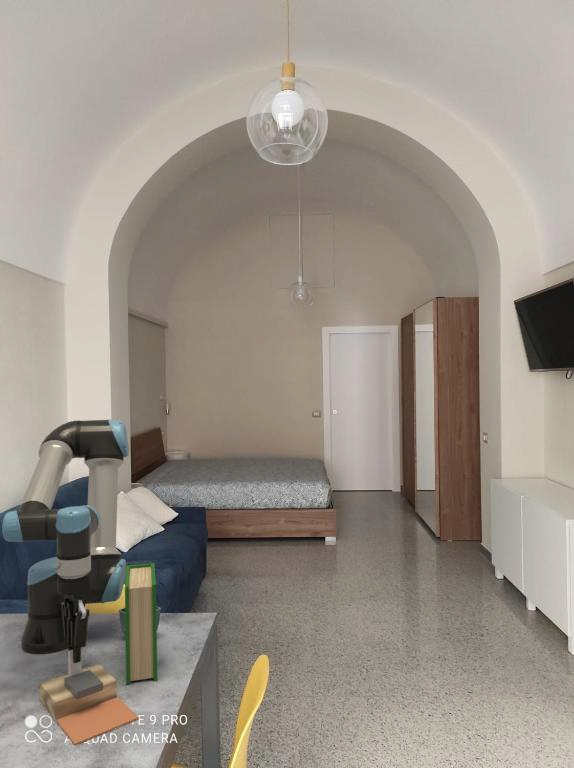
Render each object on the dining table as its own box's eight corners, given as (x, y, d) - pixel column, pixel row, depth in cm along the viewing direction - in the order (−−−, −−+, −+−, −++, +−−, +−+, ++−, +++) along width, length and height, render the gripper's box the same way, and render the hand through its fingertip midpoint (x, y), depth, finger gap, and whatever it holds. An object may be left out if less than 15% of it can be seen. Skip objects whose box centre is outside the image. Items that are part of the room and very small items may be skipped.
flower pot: (143, 630, 171) (143, 600, 171) (162, 638, 166) (161, 607, 166) (118, 641, 165) (117, 609, 165) (136, 649, 159) (136, 617, 159)
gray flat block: (64, 685, 133) (64, 678, 133) (89, 676, 137) (89, 669, 137) (76, 699, 127) (76, 692, 127) (103, 689, 131) (103, 682, 131)
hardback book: (157, 681, 142) (155, 584, 142) (126, 685, 140) (124, 587, 140) (155, 649, 159) (154, 563, 159) (127, 653, 157) (126, 565, 157)
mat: (56, 721, 125) (56, 720, 125) (117, 698, 134) (117, 696, 134) (74, 745, 117) (74, 743, 117) (138, 719, 126) (138, 717, 126)
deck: (39, 700, 134) (39, 683, 134) (98, 679, 143) (98, 663, 143) (55, 720, 126) (55, 702, 126) (116, 697, 135) (116, 680, 135)
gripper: (48, 570, 138) (49, 669, 138) (67, 584, 128) (68, 690, 128) (79, 564, 143) (81, 659, 143) (100, 577, 133) (101, 679, 133)
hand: (75, 674), depth 135 cm, fingers closed
